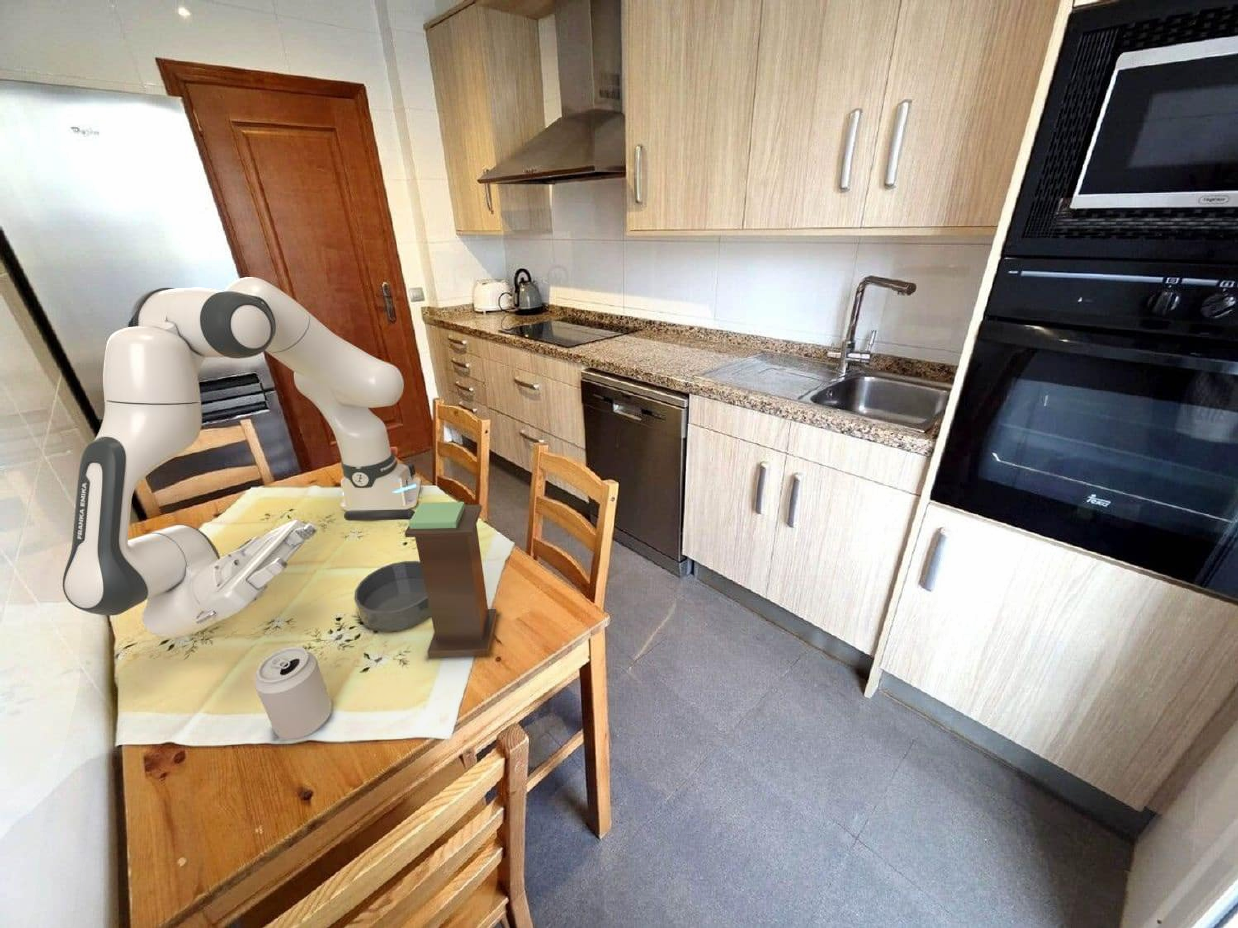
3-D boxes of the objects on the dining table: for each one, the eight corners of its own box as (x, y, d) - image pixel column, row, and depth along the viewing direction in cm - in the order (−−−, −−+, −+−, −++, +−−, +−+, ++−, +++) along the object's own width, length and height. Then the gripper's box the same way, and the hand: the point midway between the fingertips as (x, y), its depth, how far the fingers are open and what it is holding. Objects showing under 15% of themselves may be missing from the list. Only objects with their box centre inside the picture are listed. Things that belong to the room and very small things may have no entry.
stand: (443, 616, 95) (422, 502, 84) (497, 614, 95) (482, 501, 84) (428, 658, 86) (402, 536, 75) (487, 656, 86) (470, 535, 75)
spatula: (336, 530, 76) (334, 521, 75) (353, 509, 81) (351, 501, 80) (456, 528, 77) (454, 519, 76) (465, 507, 82) (463, 499, 81)
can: (308, 748, 71) (284, 689, 66) (263, 737, 72) (236, 679, 67) (344, 703, 78) (325, 646, 72) (302, 694, 79) (280, 637, 74)
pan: (377, 579, 104) (372, 561, 102) (450, 577, 105) (447, 559, 103) (345, 633, 91) (340, 614, 89) (430, 630, 91) (426, 611, 89)
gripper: (171, 613, 72) (242, 573, 69) (256, 533, 90) (314, 499, 88) (207, 641, 74) (277, 603, 72) (282, 557, 93) (340, 524, 90)
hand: (298, 545), depth 80 cm, fingers open, 8 cm apart
